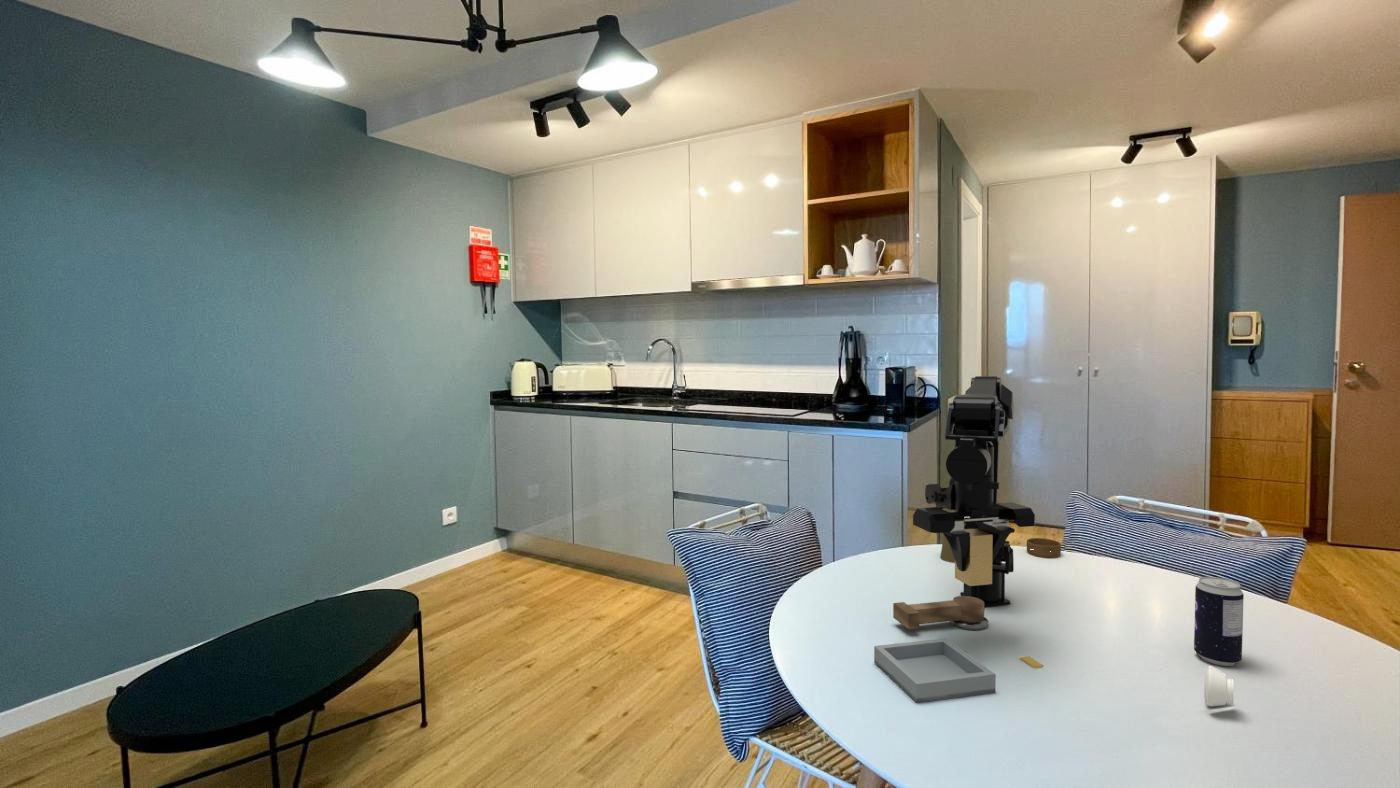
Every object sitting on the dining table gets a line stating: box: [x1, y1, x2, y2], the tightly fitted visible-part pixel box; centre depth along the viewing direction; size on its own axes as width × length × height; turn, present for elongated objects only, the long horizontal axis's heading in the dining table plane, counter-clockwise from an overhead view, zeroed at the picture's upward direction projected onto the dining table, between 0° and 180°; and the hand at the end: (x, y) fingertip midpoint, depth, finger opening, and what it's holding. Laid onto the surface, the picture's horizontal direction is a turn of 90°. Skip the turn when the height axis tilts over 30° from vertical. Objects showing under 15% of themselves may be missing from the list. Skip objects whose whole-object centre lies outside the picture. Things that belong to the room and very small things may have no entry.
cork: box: [940, 523, 966, 564], centre depth 146 cm, size 6×6×11 cm
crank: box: [892, 595, 985, 630], centre depth 112 cm, size 16×5×3 cm, turn 102°
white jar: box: [1203, 665, 1235, 708], centre depth 85 cm, size 5×3×5 cm, turn 141°
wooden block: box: [954, 528, 993, 586], centre depth 105 cm, size 4×4×8 cm
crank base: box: [948, 616, 1044, 669], centre depth 106 cm, size 6×20×1 cm, turn 12°
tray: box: [873, 637, 997, 704], centre depth 94 cm, size 12×12×3 cm
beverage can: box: [1193, 576, 1245, 667], centre depth 98 cm, size 6×6×12 cm
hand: (973, 569), depth 105 cm, fingers closed on wooden block, 4 cm apart
